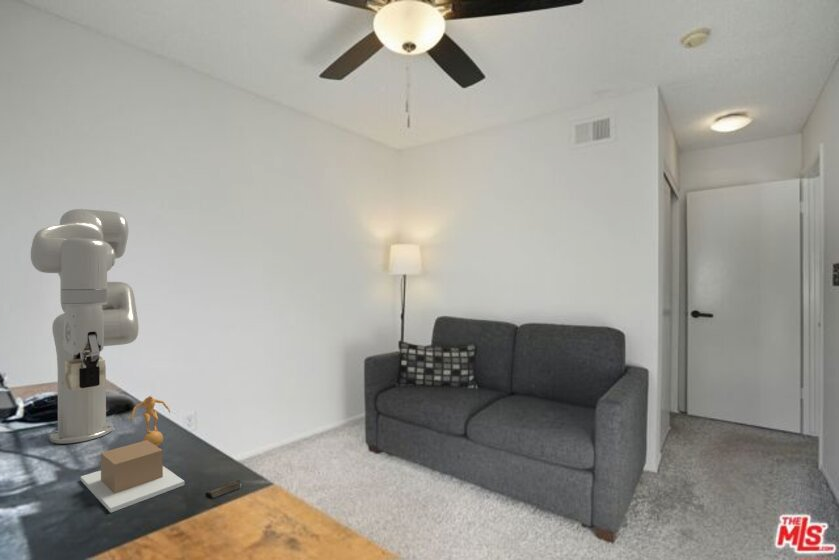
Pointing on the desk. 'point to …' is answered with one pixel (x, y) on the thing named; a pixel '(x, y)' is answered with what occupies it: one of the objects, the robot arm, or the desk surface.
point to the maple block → (73, 374)
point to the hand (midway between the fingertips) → (85, 383)
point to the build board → (132, 492)
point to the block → (224, 489)
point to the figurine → (149, 403)
